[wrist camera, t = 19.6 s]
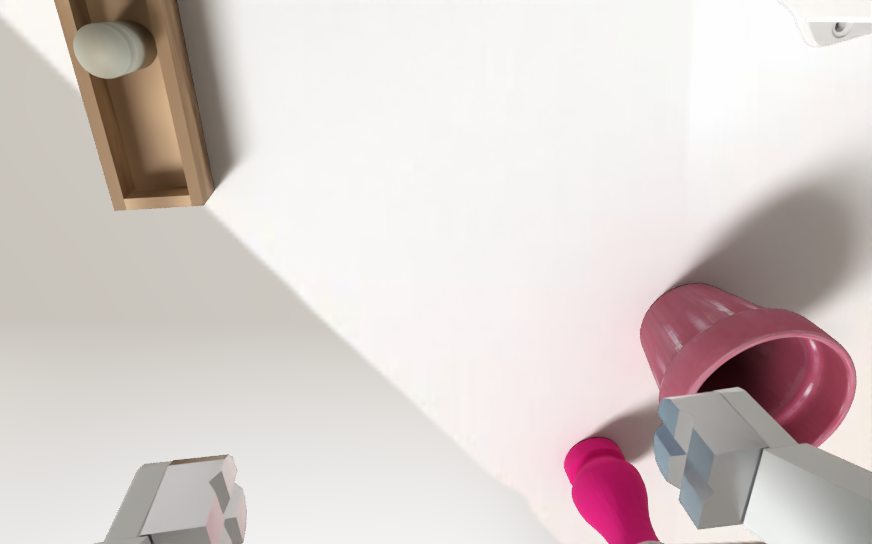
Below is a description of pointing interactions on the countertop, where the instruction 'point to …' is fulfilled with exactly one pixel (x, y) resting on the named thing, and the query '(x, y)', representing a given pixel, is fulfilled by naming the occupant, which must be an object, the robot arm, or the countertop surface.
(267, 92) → the countertop surface
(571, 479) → the pepper mill
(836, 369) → the plant pot
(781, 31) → the countertop surface
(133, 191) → the teak tray
